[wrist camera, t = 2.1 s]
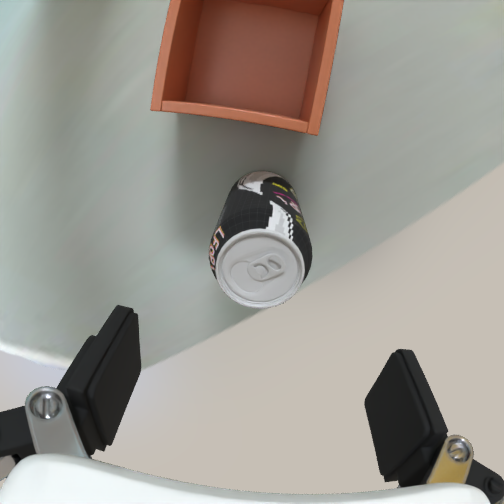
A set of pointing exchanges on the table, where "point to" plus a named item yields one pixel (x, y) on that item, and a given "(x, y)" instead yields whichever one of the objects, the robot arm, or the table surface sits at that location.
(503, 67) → the table surface
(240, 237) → the beverage can
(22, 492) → the robot arm
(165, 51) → the bin
